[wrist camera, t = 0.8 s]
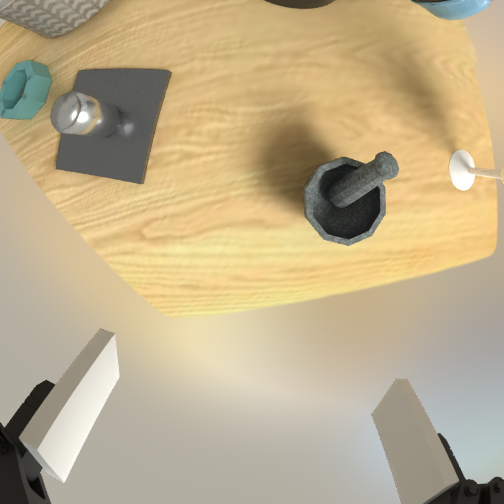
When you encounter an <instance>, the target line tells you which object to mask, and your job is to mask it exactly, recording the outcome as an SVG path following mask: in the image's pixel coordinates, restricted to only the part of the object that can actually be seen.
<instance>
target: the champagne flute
mask: <svg viewBox="0 0 504 504" xmlns="http://www.w3.org/2000/svg"><path fill="white" fill-rule="evenodd" d="M449 172H450V177H451V180H452V182H453V184H454V185H455V186H456V187H457V188H458V189H460V190H467V189H468V188H470V187H471V185H472V184H473V181H474V178H475V175H478V176H485V177H492V178H498V179H501V180H502V183H503V185H504V164H503V167H502V169H501V171H500V170H492V169H484V168H475V166H474V162H473V160H472V158H471V156H470V155H469V154H468V153H467V152H466V151H464V150H457V151H455V152H454V153H453V155H452V156H451V159H450V163H449Z"/></svg>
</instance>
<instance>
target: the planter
mask: <svg viewBox="0 0 504 504" xmlns="http://www.w3.org/2000/svg"><path fill="white" fill-rule="evenodd" d="M109 1H110V0H0V18H2V19H4V20H7V21H9V22H12V23H14V24H17V25H19V26H22V27H24V28H26V29H29V30H31V31H33V32H35V33H38V34H40V35H42V36H44V37H48V38H53V37H58V36H62V35H64V34H66V33H69V32H71V31H72V30H74V29H76V28H78V27H79V26H81V25H82V24H84V23H85V22H86V21H88V20H89V19H90V18H92V17H93V16H94V15H95V14H96V13H98V12H99V11H100V10H101V9H102V8H103V7H104V6H105V5H106V4H107V3H108V2H109Z"/></svg>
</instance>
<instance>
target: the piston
mask: <svg viewBox="0 0 504 504" xmlns="http://www.w3.org/2000/svg"><path fill="white" fill-rule="evenodd" d="M171 74H172V72H171V71H168V70H152V69H94V70H79V72H78V75H77V78H76V81H75V84H74V88H73V91H71V92H68V93H66V94H64V95H62V96H61V97H59V98H58V99H57V101H56V102H55V104H54V105H53V108H52V111H51V123H52V125H53V126H54V128H55V129H56V130H57V131H58V132H60V133H62V135H61V140H60V145H59V151H58V157H57V164H56V169H59V170H65V171H71V172H77V173H83V174H89V175H95V176H101V177H106V178H112V179H117V180H122V181H127V182H133V183H138V184H144V180H145V174H146V169H147V165H148V160H149V155H150V151H151V146H152V142H153V138H154V134H155V130H156V126H157V122H158V118H159V114H160V111H161V107H162V104H163V100H164V97H165V93H166V90H167V87H168V84H169V80H170V77H171Z"/></svg>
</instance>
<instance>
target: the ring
mask: <svg viewBox="0 0 504 504" xmlns="http://www.w3.org/2000/svg"><path fill="white" fill-rule="evenodd" d="M51 82H52V78H51V76H50V73H49V70H48V68H47V66H45V65H43V64H40V63H37V62H34V61H31V60H28V61H24V62H21V63H17V64H16V65H15V66H14V67H13V69H12V70H11V71H10V73H9V74H8V75H7V77H6V78H5V79H4V81H3V84H2V87H1V90H0V117H1V118H3V119H17V120H20V119H32V118H33V117H34V115H35V114H36V113H37V112H38V111H39V109H40V108H41V107H42V106H43V105H44V104H45V102H46V99H47V95H48V92H49V88H50V85H51ZM25 84H26V86H25ZM24 86H25V89H24V93H23V96H22V97H21V94H22V90H23V87H24ZM20 97H21V99H20Z"/></svg>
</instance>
